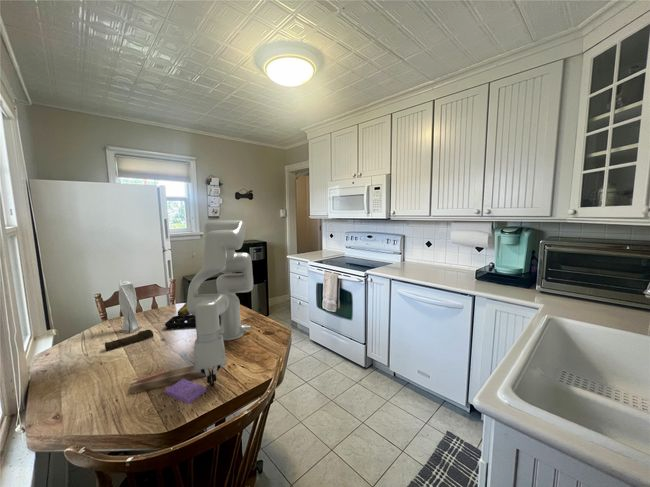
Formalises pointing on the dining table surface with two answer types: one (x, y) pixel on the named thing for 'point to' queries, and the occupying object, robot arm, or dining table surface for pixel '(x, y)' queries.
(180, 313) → the potato
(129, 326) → the skyscraper
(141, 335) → the hand tool
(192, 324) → the black openwork frame
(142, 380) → the carpenters pencil
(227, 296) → the robot arm
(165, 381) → the walnut board
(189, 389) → the sponges
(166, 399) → the dining table surface
